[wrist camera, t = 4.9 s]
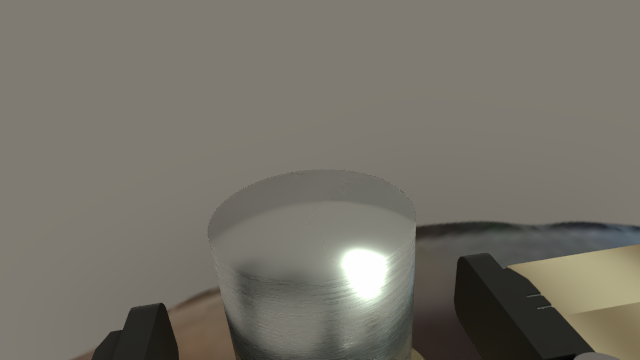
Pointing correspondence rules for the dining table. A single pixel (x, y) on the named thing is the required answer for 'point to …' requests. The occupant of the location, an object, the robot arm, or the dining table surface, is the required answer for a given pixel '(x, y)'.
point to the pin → (317, 267)
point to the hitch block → (595, 296)
